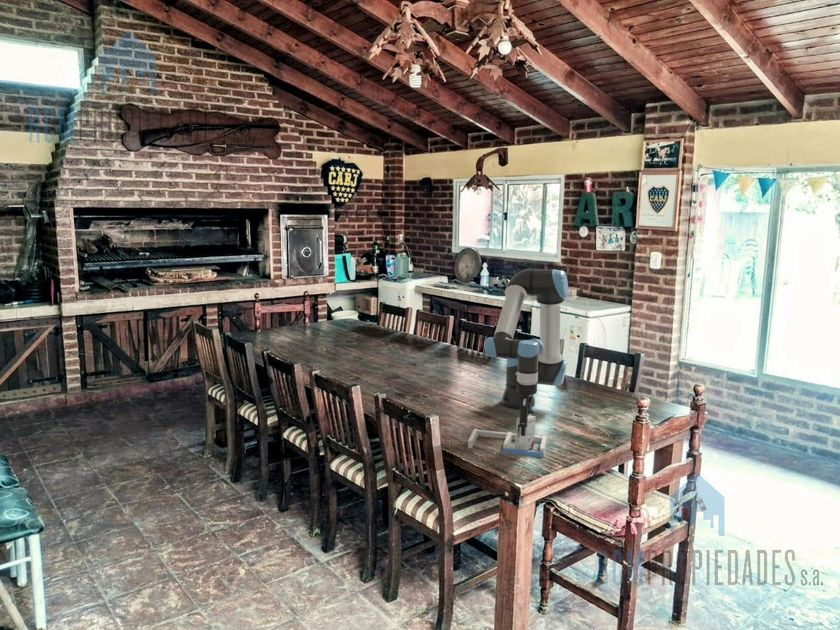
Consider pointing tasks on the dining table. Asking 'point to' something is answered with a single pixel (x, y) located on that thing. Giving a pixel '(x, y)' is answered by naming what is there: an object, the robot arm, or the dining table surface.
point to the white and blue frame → (508, 439)
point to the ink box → (529, 434)
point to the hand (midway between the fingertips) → (525, 436)
